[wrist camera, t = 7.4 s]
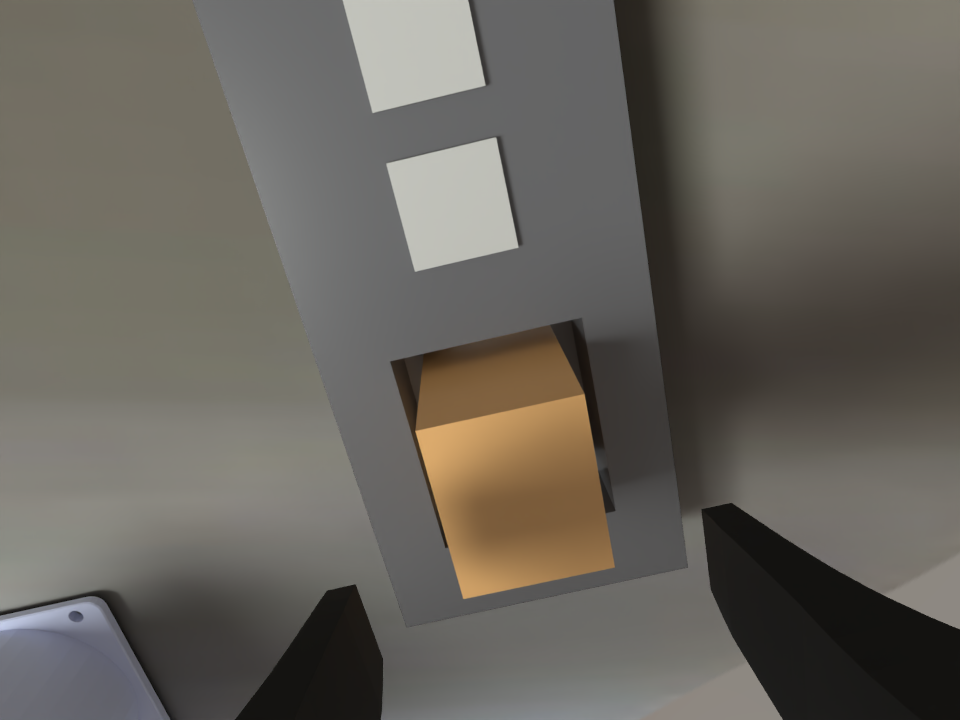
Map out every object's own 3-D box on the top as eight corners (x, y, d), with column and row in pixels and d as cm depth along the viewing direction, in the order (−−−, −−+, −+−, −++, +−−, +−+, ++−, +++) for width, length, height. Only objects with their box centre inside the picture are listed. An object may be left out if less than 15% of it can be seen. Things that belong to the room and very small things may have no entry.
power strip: (411, 568, 24) (406, 631, 21) (218, -29, 17) (168, -62, 14) (659, 514, 24) (690, 571, 21) (567, -117, 17) (593, -171, 14)
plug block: (459, 478, 22) (463, 599, 16) (424, 345, 20) (415, 431, 15) (572, 453, 22) (615, 567, 16) (546, 318, 20) (584, 394, 15)
